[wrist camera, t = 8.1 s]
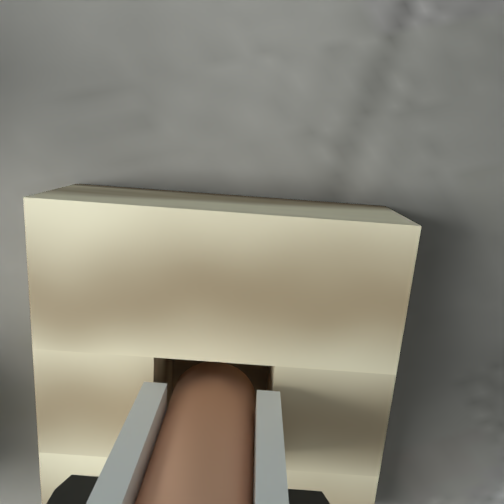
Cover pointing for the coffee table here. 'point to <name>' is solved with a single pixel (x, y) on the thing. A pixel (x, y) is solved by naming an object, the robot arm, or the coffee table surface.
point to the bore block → (217, 319)
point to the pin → (204, 440)
